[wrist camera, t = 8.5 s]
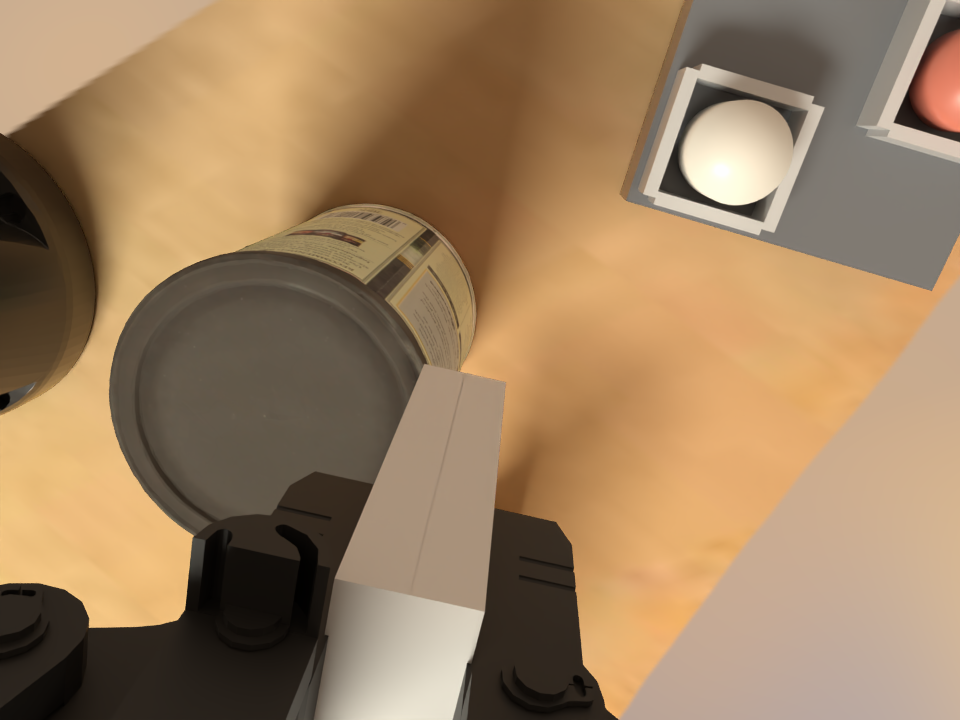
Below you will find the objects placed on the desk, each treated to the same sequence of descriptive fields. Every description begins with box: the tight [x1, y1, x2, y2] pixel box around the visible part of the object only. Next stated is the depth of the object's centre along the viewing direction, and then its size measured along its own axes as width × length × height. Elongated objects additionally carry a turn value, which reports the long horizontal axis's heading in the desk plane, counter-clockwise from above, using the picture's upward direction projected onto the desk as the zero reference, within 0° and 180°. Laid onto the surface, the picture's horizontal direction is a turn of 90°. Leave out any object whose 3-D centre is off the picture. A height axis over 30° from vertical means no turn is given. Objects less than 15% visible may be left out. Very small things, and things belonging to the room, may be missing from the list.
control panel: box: [620, 0, 960, 291], centre depth 29 cm, size 13×15×5 cm
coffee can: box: [109, 204, 477, 536], centre depth 30 cm, size 10×10×14 cm
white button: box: [678, 100, 793, 205], centre depth 28 cm, size 4×4×2 cm
